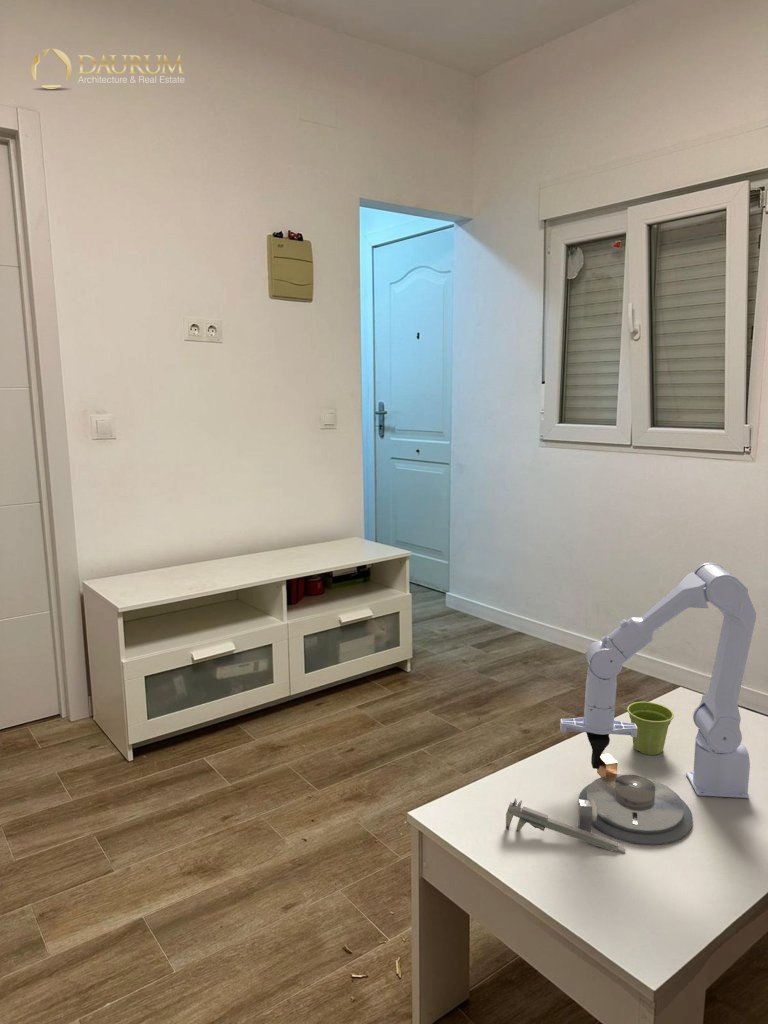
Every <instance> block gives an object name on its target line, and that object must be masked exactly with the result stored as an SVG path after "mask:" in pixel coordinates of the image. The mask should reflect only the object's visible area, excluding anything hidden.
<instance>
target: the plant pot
mask: <svg viewBox="0 0 768 1024" xmlns="http://www.w3.org/2000/svg"><path fill="white" fill-rule="evenodd" d="M626 710H627V713H628V714H629V718H630V723H633V724H636V726H637V728H638V729H637V737H632V746H633V748H634V750H635V751H639V752H641V753H642V754H644V755H649V756H656V755H659V754H660V753H663V751H664V747H665V743H666V738H667V734H668V730H669V726H670V724H671V722H672V721H673V719H674V717H675V714H674V712H673V710H671V709H670V708H669V707H667V706H664V705H662V704H659V703H656V702H650V701H635V702H632V703H630V704H629V705H628V706H627V709H626Z"/></svg>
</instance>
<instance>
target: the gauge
mask: <svg viewBox="0 0 768 1024" xmlns="http://www.w3.org/2000/svg"><path fill="white" fill-rule="evenodd" d="M578 800H579V799H578ZM577 812H578V813H577V815H578V816H577V817H578V818H577V828H579V829H582V830H585V831H587V832H590V833H592V826H591V824H592V821H597V803H596V800H595V799H590V800H579V805H578V811H577Z"/></svg>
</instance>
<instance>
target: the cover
mask: <svg viewBox="0 0 768 1024" xmlns="http://www.w3.org/2000/svg"><path fill="white" fill-rule="evenodd" d="M644 777H645V776H642V775H638V774H628V775H622V776H619V777H618V778H617V779H616V780H615V800H616V801H617V802H618V803H619V804H620V805H621V806H623V807H625V808H628V809H631V810H638V811H643V810H648V809H651V808H652V807H653V806H654V804H655V785H654V784H653V782H651V781H650V780H649V779H650V778H649V779H647V778H648V777H645V778H644Z"/></svg>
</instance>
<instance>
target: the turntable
mask: <svg viewBox="0 0 768 1024" xmlns="http://www.w3.org/2000/svg"><path fill="white" fill-rule="evenodd" d="M618 763H619V762H618V761H617V760H616V759H615V758H614V757H613V756H612V755H611V754H610V753H604V754H603V753H602V754H601V756H600V766H599V769H596V774H598V776H599V778H596V779H595V780H593V781H592V782H590V783H589V784H590V785H589V784H588V785H589V787H588V790H587V800H590V799H595V800H596V803H597V817H598V818H599V819H600V820H602V821H603V822H605V823H607V824H609V825H611V826H613V827H615V828H618V829H621V830H624V831H628V832H633V833H640V834H659V833H665V832H668V831H671V830H673V829H675V828H676V827H678V826H679V825H680V824H681V823H682V821H683V818H684V804H683V802H682V800H683V799H682V798H681V797H680V795H679V794H678V793H677V792H675V791H674V790H673V789H672V788H670V787H669V786H667V785H665V784H664V783H662V782H659V781H657V780H655V779H652V778H649V777H645V776H643V777H644V778H647V779H649V780H650V781H651V782H653V784H654V785H655V804H654V806H653V807H652V808H651V809H648V810H643V811H638V810H631V809H628V808H625V807H623V806H621V805H620V804H619V803H618V802H617V801H616V800H615V780H616V779H617V778H618V777H619V776H622V775H629V774H627V773H626V774H624V773H620V774H619V773H618ZM681 799H682V800H681Z"/></svg>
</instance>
